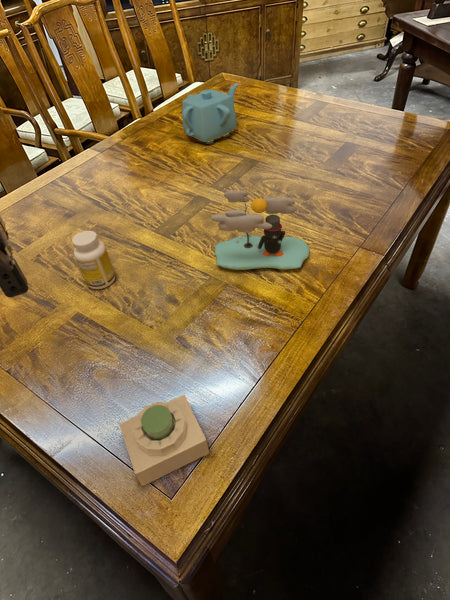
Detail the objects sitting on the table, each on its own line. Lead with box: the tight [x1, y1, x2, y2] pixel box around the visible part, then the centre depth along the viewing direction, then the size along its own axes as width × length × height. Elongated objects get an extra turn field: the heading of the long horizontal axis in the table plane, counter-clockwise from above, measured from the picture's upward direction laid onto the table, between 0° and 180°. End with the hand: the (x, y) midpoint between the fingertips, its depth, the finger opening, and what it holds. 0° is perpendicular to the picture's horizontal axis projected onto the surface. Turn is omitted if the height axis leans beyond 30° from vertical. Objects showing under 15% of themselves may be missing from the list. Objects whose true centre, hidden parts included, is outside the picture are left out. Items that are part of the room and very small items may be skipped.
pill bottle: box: [71, 230, 116, 290], centre depth 84 cm, size 6×6×11 cm
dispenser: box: [118, 394, 210, 487], centre depth 58 cm, size 10×8×6 cm
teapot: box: [181, 83, 240, 145], centre depth 129 cm, size 18×16×14 cm
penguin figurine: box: [210, 190, 311, 271], centre depth 83 cm, size 20×11×15 cm, turn 81°
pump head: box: [141, 405, 174, 440], centre depth 55 cm, size 4×4×2 cm
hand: (18, 290), depth 42 cm, fingers closed
